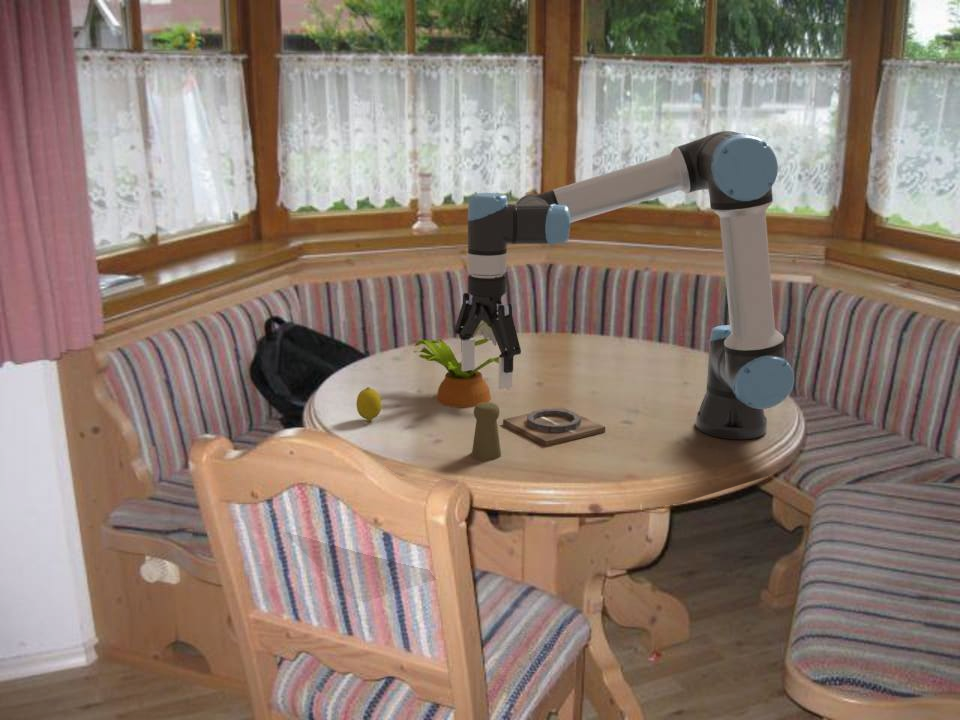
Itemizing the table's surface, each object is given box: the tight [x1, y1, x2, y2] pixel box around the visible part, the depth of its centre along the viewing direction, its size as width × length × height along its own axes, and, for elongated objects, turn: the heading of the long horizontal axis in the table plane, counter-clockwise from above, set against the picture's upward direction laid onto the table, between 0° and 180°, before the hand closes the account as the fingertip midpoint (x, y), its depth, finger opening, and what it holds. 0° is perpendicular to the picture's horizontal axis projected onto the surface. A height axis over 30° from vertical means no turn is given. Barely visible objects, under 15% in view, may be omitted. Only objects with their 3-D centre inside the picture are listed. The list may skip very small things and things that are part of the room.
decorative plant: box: [413, 300, 504, 408], centre depth 232 cm, size 27×24×25 cm
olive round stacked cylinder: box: [471, 401, 502, 461], centre depth 199 cm, size 6×6×11 cm
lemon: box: [356, 386, 382, 422], centre depth 219 cm, size 6×6×8 cm
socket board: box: [502, 406, 606, 447], centre depth 216 cm, size 16×16×2 cm
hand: (486, 378), depth 196 cm, fingers open, 13 cm apart
